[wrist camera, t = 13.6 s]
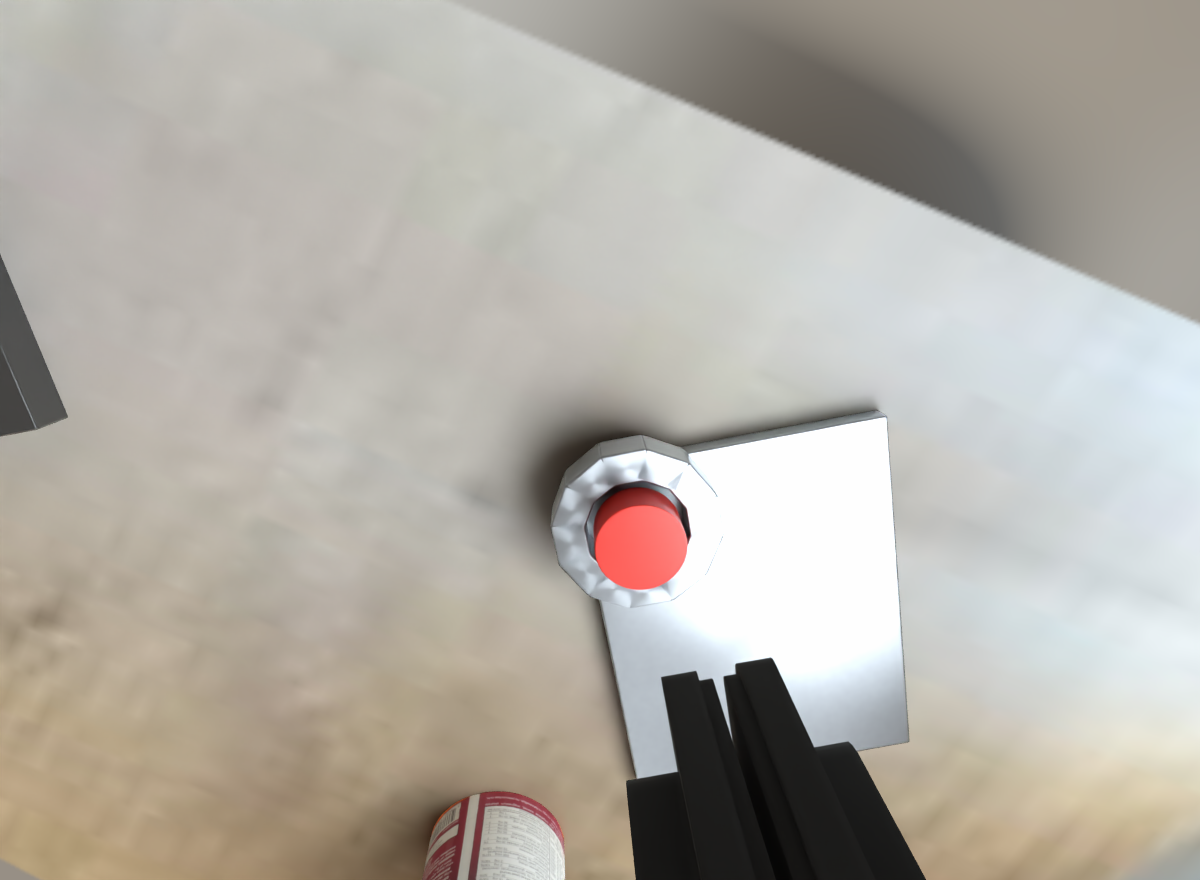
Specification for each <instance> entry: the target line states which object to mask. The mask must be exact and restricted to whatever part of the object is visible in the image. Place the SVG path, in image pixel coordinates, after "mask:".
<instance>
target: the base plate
mask: <svg viewBox="0 0 1200 880" xmlns="http://www.w3.org/2000/svg"><path fill="white" fill-rule="evenodd" d="M66 418H68V416H67V413H66V411H65V408H64V406H63V404H62V401H61V399H60V396H59V394H58V392H57V389H56V387H55V384H54V382H53V380H52V377H51V375H50V372H49V370H48V368H47V365H46V363H45V361H44V358H43V356H42V353H41V351H40V349H39V346H38V344H37V341H36V339H35V337H34V334H33V332H32V329H31V327H30V325H29V322H28V320H27V317H26V315H25V313H24V310H23V308H22V305H21V303H20V301H19V298H18V296H17V294H16V291H15V289H14V286H13V284H12V282H11V279H10V277H9V274H8V272H7V270H6V267H5V265H4V262H3V260H2V258H1V255H0V437H1V436H7V435H12V434H17V433H22V432H28V431H33V430H37V429H40V428H43V427H45V426H48V425H50V424H53V423H56V422H58V421H61V420H64V419H66Z"/></svg>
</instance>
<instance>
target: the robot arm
mask: <svg viewBox="0 0 1200 880" xmlns="http://www.w3.org/2000/svg"><path fill="white" fill-rule="evenodd" d="M735 673H736V674H733V675H727V676H724V677H723V680H724V688H725V695H726V701H727V708H728V715H729V722H730V728H731V735H732V738H731V735H730V732H729V728H728V725H727V722H726V719H725V716H724V712H723V709H722V706H721V703H720V700H719V697H718V693H717V690H716V687H715V684H714V681H713V679H712V678H711V679H705V680H699V678H698V674H697V672H696V671H692V672H686V673H680V674H675V675H669V676H664V677H661V681H662V687H663V693H664V698H665V704H666V710H667V715H668V721H669V726H670V732H671V737H672V743H673V749H674V754H675V760H676V765H677V771H678V772H673V773H667V774H661V775H656V776H650V777H644V778H639V779H633V780H628V781H626V787H627V798H628V808H629V817H630V827H631V837H632V846H633V856H634V866H635V875H636V880H926V879H925V877H924V875H923V873H922V871H921V869H920V868H919V866H918V864H917V862H916V860H915V858H914V856H913V855H912V853H911V851H910V849H909V847H908V845H907V843H906V842H905V840H904V838H903V836H902V834H901V832H900V830H899V829H898V827H897V825H896V823H895V821H894V819H893V817H892V816H891V814H890V812H889V810H888V808H887V806H886V804H885V803H884V801H883V799H882V797H881V795H880V793H879V791H878V790H877V788H876V786H875V784H874V782H873V780H872V778H871V777H870V775H869V773H868V771H867V769H866V767H865V765H864V764H863V762H862V760H861V758H860V756H859V754H858V753H857V751H856V750H855V748H854V746H853V745H852V744H851V743H850V742H849V741H847V742H842V743H836V744H830V745H825V746H819V747H814V746H813V744H812V741H811V739H810V737H809V735H808V733H807V731H806V728H805V726H804V724H803V722H802V720H801V718H800V715H799V713H798V711H797V709H796V707H795V705H794V702H793V700H792V698H791V696H790V694H789V692H788V690H787V687H786V685H785V683H784V681H783V679H782V677H781V674H780V672H779V670H778V668H777V666H776V664H775V662H774V660H773V658H771V657H770V658H764V659H759V660H753V661H747V662H742V663H736V664H735Z"/></svg>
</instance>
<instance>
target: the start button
mask: <svg viewBox="0 0 1200 880" xmlns="http://www.w3.org/2000/svg"><path fill="white" fill-rule="evenodd" d="M593 534H594V550H595V557H596V561H597V563H598V566H599V567H600V569H601V571H602V572H603V573H604V574H605V576H606V577H607V578H609V579H610V580H611V581H612V582H614V583H616V584H617V585H619V586H622V587H625V588H628V589H634V590H645V589H651V588H655V587H658V586H660V585H662V584H664V583H666V582H667V581H669V580H670V579H671V578H673V577H674V576H675V575H676V574H677V572H678V571H679V570H680V568H681V567H682V565H683V563H684V561H685V558H686V555H687V547H688V544H687V537H686V533H685V530H684V528H683V525H682V522H681V519H680V516H679V514H678V511H677V509H676V508H675V506H674V504H673V503H672V502H671V501H670V500H669V499H668V498H667V497H666V496H664V495H663V494H661V493H660V492H658V491H655V490H653V489H649V488H642V487H634V488H628V489H624V490H621V491H619V492H617V493H615V494H613V495H612V496H610V497H609V498H608V499H607V500H606V501H605V502H604V503H603V504H602V505H601V507H600V508H599V510H598V512H597V514H596V516H595V520H594V525H593Z"/></svg>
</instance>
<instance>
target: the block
mask: <svg viewBox="0 0 1200 880" xmlns="http://www.w3.org/2000/svg"><path fill="white" fill-rule="evenodd" d="M634 487H642V488H649V489H653V490H655V491H658V492H660V493H661V494H663V495H664V496H666V497H667V498H668V499H669V500H670V501H671V502H672V503H673V504H674V506H675V508H676V509H677V511H678V514H679V516H680V519H681V522H682V525H683V528H684V530H685V533H686V537H687V544H688V547H687V555H686V558H685V561H684V563H683V565H682V567H681V568H680V570H679V571H678V572H677V574H676V575H675V576H674V577H673V578H671V579H670V580H669V581H667V582H666V583H664V584H662V585H660V586H658V587H655V588H651V589H645V590H634V589H628V588H625V587H622V586H619V585H617V584H616V583H614V582H612V581H611V580H610V579H609V578H607V577H606V576H605V574H604V573H603V572H602V571H601V569H600V567H599V566H598V563H597V561H596V557H595V550H594V534H593V525H594V520H595V516H596V514H597V512H598V510H599V508H600V507H601V505H602V504H603V503H604V502H605V501H606V500H607V499H608V498H609V497H610V496H612V495H613V494H615V493H617V492H619V491H621V490H624V489H628V488H634ZM551 531H552V536H553V540H554V545H555V549H556V553H557V558H558V562H559V566H561V568H562V569H563V570H564V571H565V572H566V573H567V574H568V575H569V576H570V577H571V578H572V579H573V580H574V581H575V582H576V584H577V585H578V586H579V587H580V588H581V589H582V590H583V591H584V592H585V593H586V594H587V595H589V596H590V597H592V598H596V599H599V601H600V606H601V611H602V616H603V620H604V625H605V630H606V635H607V640H608V644H609V649H610V654H611V659H612V664H613V668H614V673H615V678H616V683H617V688H618V692H619V697H620V702H621V707H622V712H623V716H624V721H625V726H626V731H627V736H628V740H629V745H630V750H631V755H632V760H633V764H634V769H635V774H636V779H639V778H644V777H650V776H656V775H661V774H667V773H673V772H678V771H677V765H676V760H675V754H674V749H673V743H672V737H671V732H670V726H669V721H668V715H667V710H666V704H665V698H664V693H663V687H662V681H661V677H664V676H669V675H675V674H680V673H686V672H692V671H696V672H697V674H698V678H699V680H705V679H711V678H712V679H713V681H714V684H715V687H716V690H717V693H718V697H719V700H720V703H721V706H722V709H723V712H724V716H725V719H726V722H727V725H728V728H729V732H730V735H731V728H730V722H729V715H728V708H727V701H726V695H725V688H724V680H723V677H724V676H727V675H733V674H736V673H735V664H736V663H742V662H747V661H753V660H759V659H764V658H770V657H771V658H773V660H774V662H775V664H776V666H777V668H778V670H779V672H780V674H781V677H782V679H783V681H784V683H785V685H786V687H787V690H788V692H789V694H790V696H791V698H792V700H793V702H794V705H795V707H796V709H797V711H798V713H799V715H800V718H801V720H802V722H803V724H804V726H805V728H806V731H807V733H808V735H809V737H810V739H811V741H812V744H813V746H814V747H819V746H825V745H830V744H836V743H842V742H847V741H849V742H850V743H851V744H852V745H853V746H854V748H855V750H856V751H862V750H868V749H873V748H879V747H885V746H890V745H896V744H902V743H907V742H909V728H908V713H907V699H906V685H905V670H904V656H903V642H902V627H901V613H900V599H899V584H898V570H897V555H896V541H895V527H894V512H893V498H892V484H891V469H890V455H889V441H888V426H887V416H886V415H885V414H883V413H881V412H880V411H878V410H875V411H869V412H864V413H859V414H853V415H848V416H843V417H837V418H832V419H826V420H821V421H816V422H810V423H805V424H800V425H794V426H789V427H784V428H778V429H773V430H767V431H762V432H757V433H751V434H746V435H741V436H735V437H730V438H725V439H719V440H714V441H709V442H703V443H698V444H692V445H687V446H682V447H678V446H675V445H672V444H669V443H666V442H663V441H660V440H657V439H654V438H651V437H648V436H645V435H642V436H641V435H637V436H631V437H626V438H621V439H615V440H610V441H605V442H600V443H599V444H596V445H595V446H594V447H593V448H592V449H590V450H589V451H588V452H587V453H586V454H584V455H583V456H582V457H581V458H579V459H578V460H577V461H576V462H575V463H573V464H572V465H571V466H570V467H569V468H567V470H566V471H565V473H564V476H563V478H562V481H561V484H560V487H559V490H558V492H557V495H556V498H555V501H554V503H553V506H552V516H551ZM731 738H732V735H731Z"/></svg>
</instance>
